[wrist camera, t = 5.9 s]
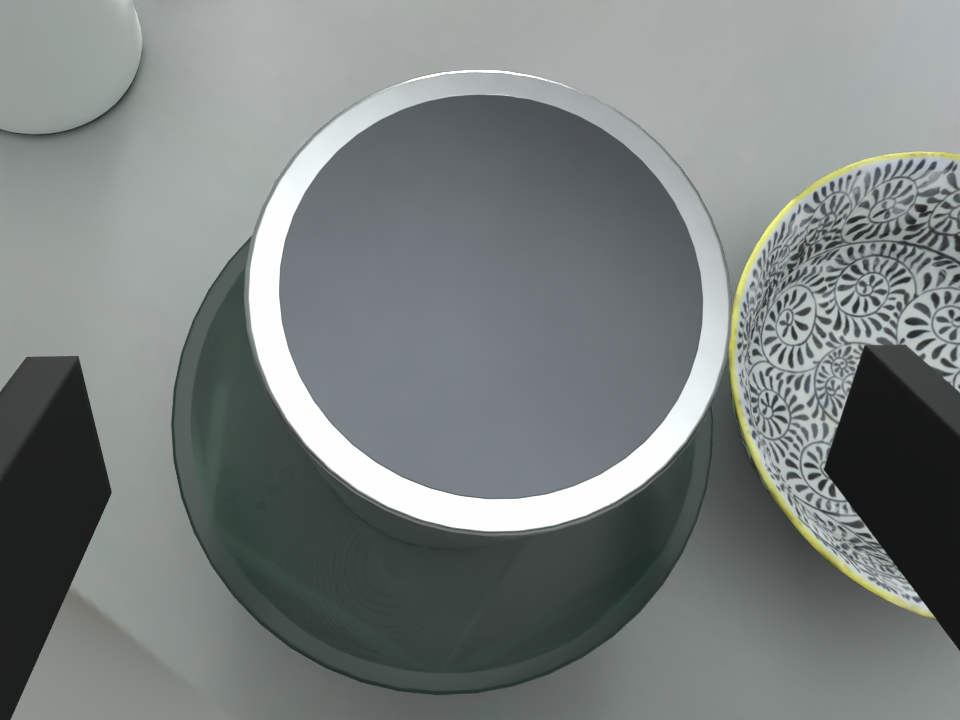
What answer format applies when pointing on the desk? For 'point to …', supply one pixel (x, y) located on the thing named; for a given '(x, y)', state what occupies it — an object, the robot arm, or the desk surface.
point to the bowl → (843, 333)
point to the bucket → (398, 543)
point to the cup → (64, 61)
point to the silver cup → (486, 307)
